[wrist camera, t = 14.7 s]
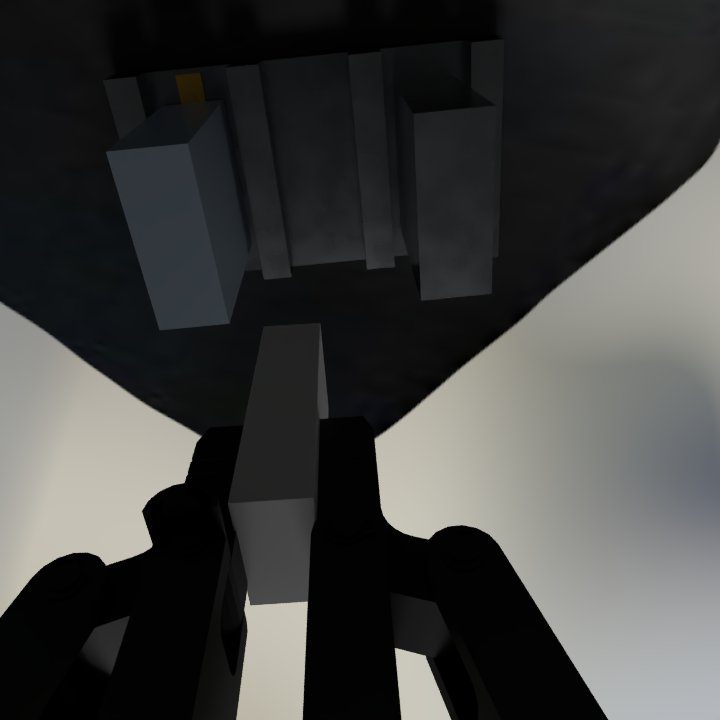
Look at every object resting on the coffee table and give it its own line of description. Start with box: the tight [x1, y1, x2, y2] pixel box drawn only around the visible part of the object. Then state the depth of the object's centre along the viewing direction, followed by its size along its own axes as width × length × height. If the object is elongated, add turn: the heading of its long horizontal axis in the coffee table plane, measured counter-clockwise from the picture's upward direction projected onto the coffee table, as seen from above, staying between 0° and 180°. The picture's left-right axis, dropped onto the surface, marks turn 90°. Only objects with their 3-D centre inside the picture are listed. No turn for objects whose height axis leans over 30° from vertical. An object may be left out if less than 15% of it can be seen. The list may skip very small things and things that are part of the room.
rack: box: [103, 35, 505, 300], centre depth 38 cm, size 14×25×14 cm, turn 95°
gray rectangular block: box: [106, 100, 252, 330], centre depth 38 cm, size 10×4×12 cm, turn 5°
